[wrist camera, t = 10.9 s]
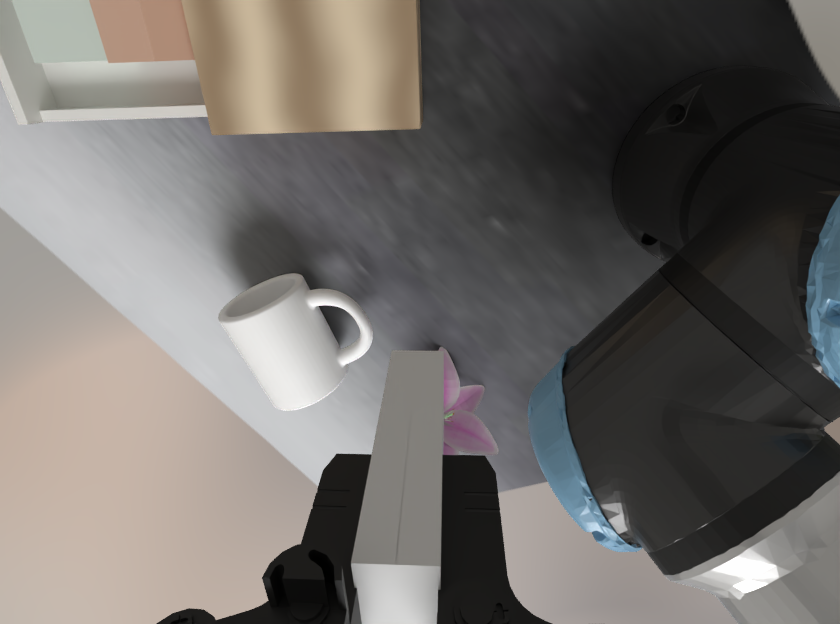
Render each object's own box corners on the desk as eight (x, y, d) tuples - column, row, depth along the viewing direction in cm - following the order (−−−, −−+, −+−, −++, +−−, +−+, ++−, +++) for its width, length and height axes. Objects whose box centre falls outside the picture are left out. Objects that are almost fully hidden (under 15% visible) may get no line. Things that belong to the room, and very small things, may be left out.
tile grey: (-4, -41, 31) (31, -34, 34) (34, 63, 34) (64, 62, 37) (84, -45, 31) (113, -37, 33) (115, 60, 34) (139, 59, 36)
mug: (286, 369, 50) (261, 420, 43) (238, 288, 46) (201, 331, 39) (392, 338, 48) (383, 387, 41) (351, 250, 44) (333, 287, 37)
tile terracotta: (172, -50, 30) (124, -57, 27) (197, 59, 32) (155, 61, 30) (123, -38, 33) (75, -43, 30) (150, 61, 36) (108, 63, 33)
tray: (189, -116, 32) (157, -137, 28) (235, 112, 38) (214, 118, 35) (-25, -103, 32) (-82, -122, 29) (56, 118, 39) (18, 124, 36)
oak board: (415, -150, 30) (410, -185, 26) (423, 120, 38) (420, 128, 34) (185, -136, 31) (143, -167, 27) (238, 125, 39) (211, 135, 34)
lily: (494, 427, 54) (531, 455, 45) (401, 476, 52) (419, 517, 43) (453, 331, 53) (482, 340, 43) (355, 378, 51) (363, 398, 41)
